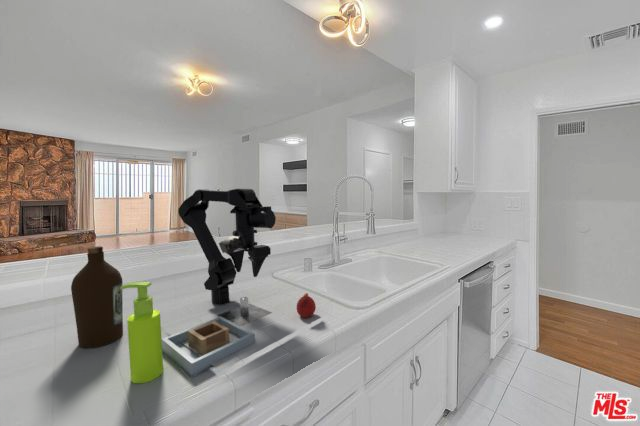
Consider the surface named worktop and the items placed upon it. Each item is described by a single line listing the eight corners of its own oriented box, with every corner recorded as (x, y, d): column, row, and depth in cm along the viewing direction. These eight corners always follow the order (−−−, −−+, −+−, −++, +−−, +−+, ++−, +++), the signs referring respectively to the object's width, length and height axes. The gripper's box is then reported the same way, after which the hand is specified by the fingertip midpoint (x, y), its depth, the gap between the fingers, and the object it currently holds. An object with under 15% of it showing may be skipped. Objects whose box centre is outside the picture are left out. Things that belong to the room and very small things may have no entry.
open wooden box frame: (188, 346, 69) (188, 331, 69) (214, 335, 75) (214, 320, 74) (202, 356, 65) (202, 340, 65) (229, 344, 70) (228, 328, 70)
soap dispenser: (135, 367, 62) (130, 279, 61) (168, 365, 63) (163, 278, 62) (119, 385, 57) (112, 288, 55) (155, 382, 57) (149, 286, 56)
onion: (313, 323, 82) (312, 297, 81) (294, 322, 83) (293, 296, 82) (317, 315, 87) (317, 290, 87) (299, 314, 89) (299, 289, 88)
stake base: (216, 318, 86) (216, 299, 86) (249, 306, 96) (248, 289, 95) (239, 330, 79) (238, 309, 78) (272, 315, 88) (271, 297, 87)
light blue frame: (162, 350, 69) (161, 339, 69) (221, 326, 81) (221, 316, 81) (192, 377, 58) (191, 363, 58) (255, 345, 71) (254, 333, 70)
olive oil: (69, 354, 68) (60, 253, 66) (83, 335, 77) (76, 246, 76) (121, 343, 73) (115, 248, 71) (128, 326, 82) (123, 242, 80)
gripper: (207, 227, 91) (209, 275, 92) (240, 232, 79) (242, 286, 80) (236, 224, 99) (238, 267, 100) (271, 228, 87) (272, 277, 88)
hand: (246, 274), depth 92 cm, fingers open, 9 cm apart
